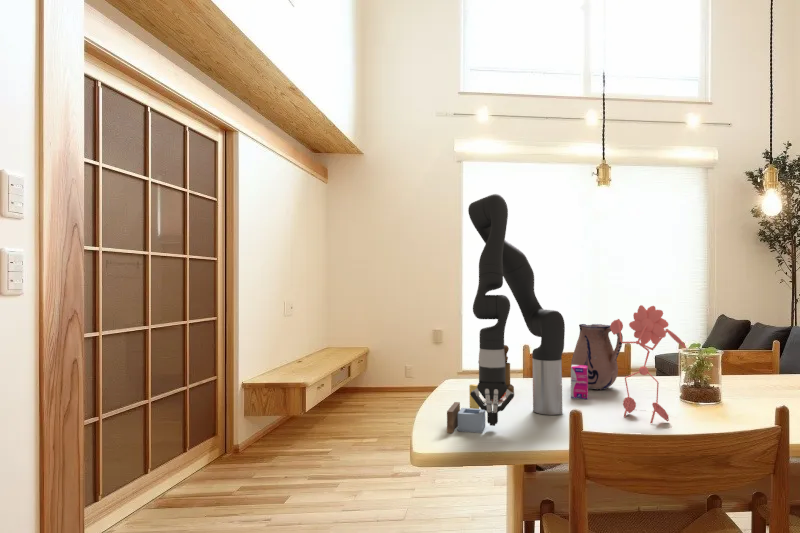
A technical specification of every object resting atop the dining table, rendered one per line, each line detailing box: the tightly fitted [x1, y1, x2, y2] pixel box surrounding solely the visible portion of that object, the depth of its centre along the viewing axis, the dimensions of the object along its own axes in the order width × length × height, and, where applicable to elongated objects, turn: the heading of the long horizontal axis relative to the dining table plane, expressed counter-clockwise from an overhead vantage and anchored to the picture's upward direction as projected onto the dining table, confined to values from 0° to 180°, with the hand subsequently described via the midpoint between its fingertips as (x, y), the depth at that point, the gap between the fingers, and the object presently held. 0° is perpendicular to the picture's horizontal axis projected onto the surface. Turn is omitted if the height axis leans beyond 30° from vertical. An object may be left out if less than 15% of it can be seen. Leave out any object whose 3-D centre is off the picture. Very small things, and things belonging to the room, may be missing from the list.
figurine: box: [609, 304, 687, 429], centre depth 165 cm, size 15×26×35 cm, turn 31°
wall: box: [446, 401, 461, 434], centre depth 155 cm, size 2×12×6 cm, turn 164°
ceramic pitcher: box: [570, 323, 624, 390], centre depth 210 cm, size 18×21×25 cm
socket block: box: [457, 407, 486, 434], centre depth 153 cm, size 7×7×5 cm
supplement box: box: [570, 365, 589, 400], centre depth 193 cm, size 6×6×12 cm
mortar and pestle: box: [504, 344, 515, 394], centre depth 203 cm, size 7×6×18 cm
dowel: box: [469, 383, 480, 409], centre depth 166 cm, size 3×3×10 cm
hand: (492, 424), depth 151 cm, fingers closed
